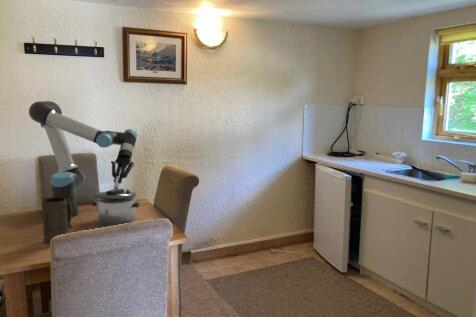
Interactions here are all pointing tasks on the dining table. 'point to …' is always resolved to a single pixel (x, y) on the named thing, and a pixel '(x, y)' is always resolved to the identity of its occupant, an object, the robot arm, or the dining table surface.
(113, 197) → the cooker lid
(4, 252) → the dining table surface
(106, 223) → the cooker pot
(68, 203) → the beer stein
